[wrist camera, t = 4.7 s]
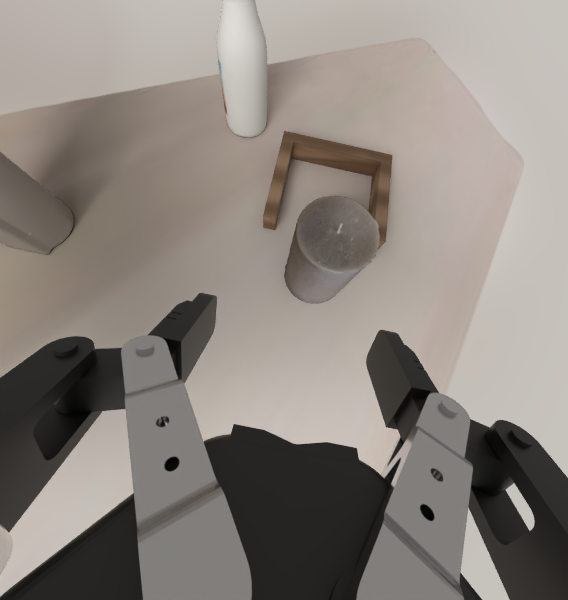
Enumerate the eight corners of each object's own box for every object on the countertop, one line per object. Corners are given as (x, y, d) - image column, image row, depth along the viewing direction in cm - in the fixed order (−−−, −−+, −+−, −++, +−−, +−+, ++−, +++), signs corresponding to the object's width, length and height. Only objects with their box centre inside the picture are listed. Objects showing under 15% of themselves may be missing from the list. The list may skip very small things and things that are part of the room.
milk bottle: (274, 124, 48) (282, -38, 29) (248, 145, 46) (237, -14, 27) (246, 103, 49) (235, -68, 30) (218, 123, 47) (188, -46, 28)
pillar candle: (275, 260, 40) (282, 202, 26) (326, 241, 42) (360, 176, 27) (299, 313, 38) (321, 282, 24) (352, 291, 40) (403, 249, 25)
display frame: (375, 251, 42) (385, 241, 39) (263, 227, 41) (263, 215, 38) (382, 170, 47) (392, 155, 44) (282, 148, 47) (284, 130, 43)
